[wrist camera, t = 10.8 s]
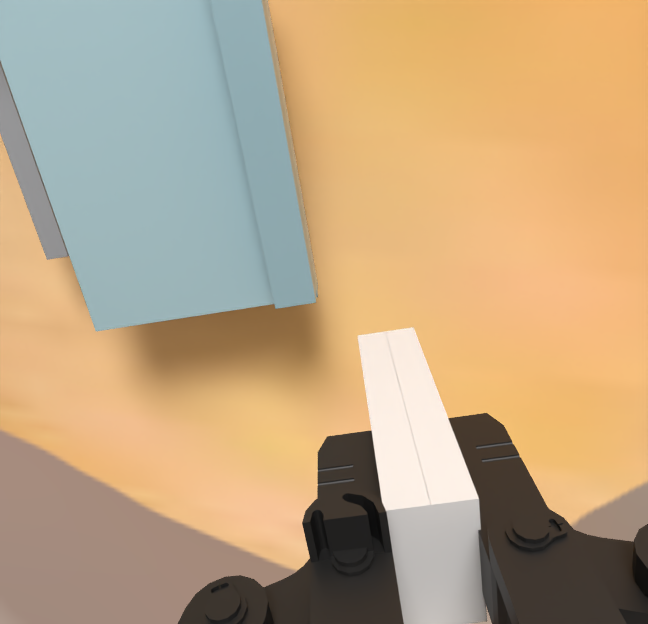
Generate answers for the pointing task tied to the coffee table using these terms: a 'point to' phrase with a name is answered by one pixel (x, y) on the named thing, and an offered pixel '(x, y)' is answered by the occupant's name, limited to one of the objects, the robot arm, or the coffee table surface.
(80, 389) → the coffee table surface
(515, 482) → the robot arm
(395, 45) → the coffee table surface
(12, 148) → the grey long bars
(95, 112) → the cover
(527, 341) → the coffee table surface
